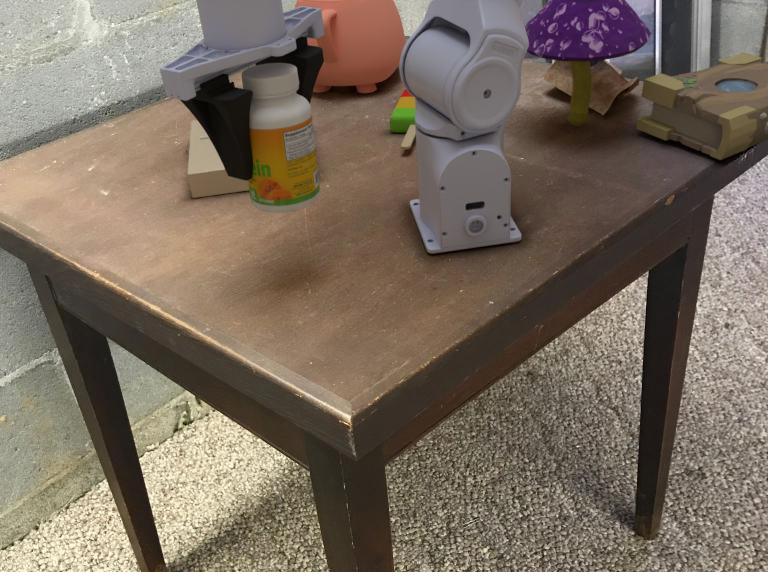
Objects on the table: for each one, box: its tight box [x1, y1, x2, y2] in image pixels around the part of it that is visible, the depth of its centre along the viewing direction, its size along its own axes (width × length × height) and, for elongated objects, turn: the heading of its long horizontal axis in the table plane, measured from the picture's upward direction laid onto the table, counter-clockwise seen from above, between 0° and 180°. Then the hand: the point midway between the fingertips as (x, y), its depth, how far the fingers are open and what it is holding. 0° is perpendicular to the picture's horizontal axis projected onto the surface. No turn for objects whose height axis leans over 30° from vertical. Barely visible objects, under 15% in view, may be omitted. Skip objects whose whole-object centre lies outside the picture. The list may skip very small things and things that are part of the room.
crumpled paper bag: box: [542, 60, 641, 116], centre depth 96 cm, size 6×12×8 cm
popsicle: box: [389, 88, 416, 150], centre depth 93 cm, size 6×15×2 cm, turn 168°
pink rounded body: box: [294, 0, 406, 94], centre depth 104 cm, size 13×20×12 cm, turn 164°
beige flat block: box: [186, 119, 249, 199], centre depth 90 cm, size 14×12×3 cm
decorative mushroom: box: [524, 0, 652, 127], centre depth 85 cm, size 12×12×15 cm
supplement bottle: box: [241, 63, 321, 213], centre depth 65 cm, size 5×5×10 cm
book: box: [636, 52, 768, 161], centre depth 85 cm, size 15×11×5 cm
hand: (266, 161), depth 67 cm, fingers closed on supplement bottle, 5 cm apart
